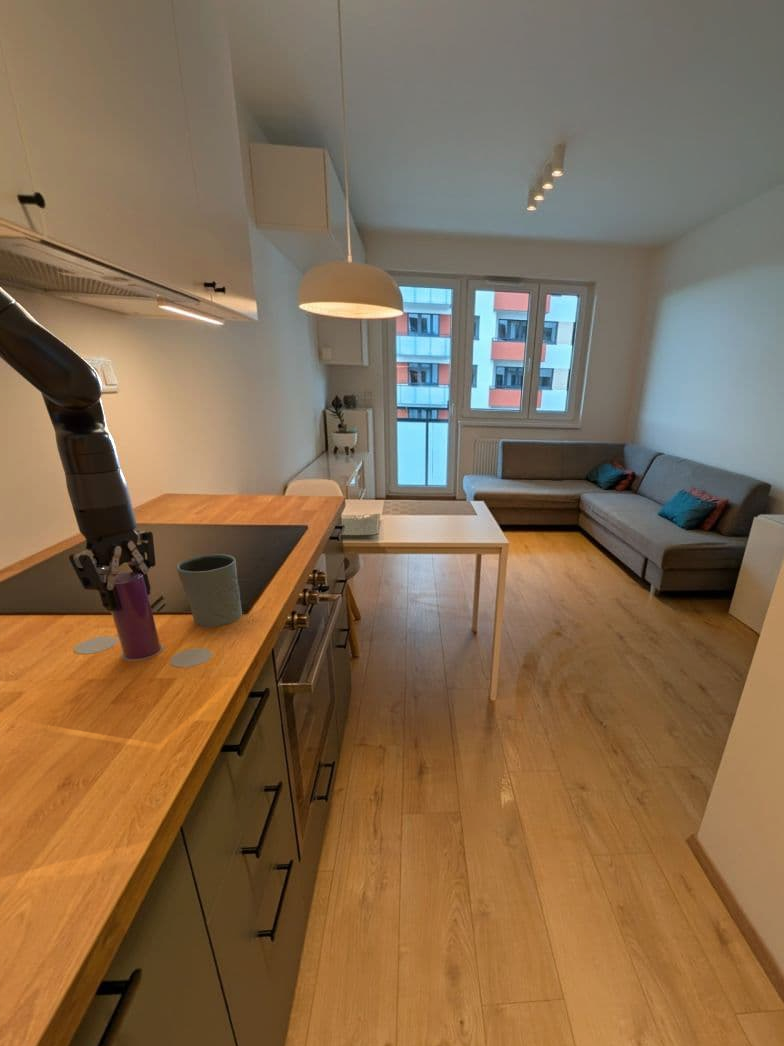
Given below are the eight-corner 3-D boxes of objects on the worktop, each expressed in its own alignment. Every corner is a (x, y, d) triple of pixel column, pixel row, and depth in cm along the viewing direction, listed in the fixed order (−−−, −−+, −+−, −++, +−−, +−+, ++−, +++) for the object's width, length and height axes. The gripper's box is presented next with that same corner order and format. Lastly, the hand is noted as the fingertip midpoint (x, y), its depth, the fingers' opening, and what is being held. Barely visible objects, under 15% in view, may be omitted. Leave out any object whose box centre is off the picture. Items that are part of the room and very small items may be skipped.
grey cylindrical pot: (244, 626, 97) (234, 568, 92) (186, 634, 94) (172, 574, 89) (245, 606, 106) (236, 551, 101) (192, 612, 102) (179, 556, 98)
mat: (49, 662, 84) (48, 659, 84) (108, 630, 95) (107, 627, 95) (185, 682, 79) (185, 678, 79) (231, 645, 90) (231, 642, 90)
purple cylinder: (108, 633, 83) (101, 608, 81) (134, 618, 88) (128, 595, 86) (137, 637, 82) (131, 612, 80) (162, 622, 87) (156, 598, 85)
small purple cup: (115, 657, 85) (108, 633, 83) (141, 641, 90) (134, 618, 88) (144, 661, 84) (137, 637, 82) (168, 645, 89) (162, 622, 87)
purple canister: (101, 608, 81) (93, 582, 80) (128, 595, 86) (121, 570, 85) (131, 611, 80) (123, 585, 79) (156, 598, 85) (150, 573, 84)
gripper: (118, 489, 84) (142, 584, 90) (36, 510, 71) (71, 618, 78) (158, 492, 82) (179, 588, 89) (81, 513, 69) (113, 623, 76)
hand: (129, 602), depth 83 cm, fingers closed on purple canister, 5 cm apart
